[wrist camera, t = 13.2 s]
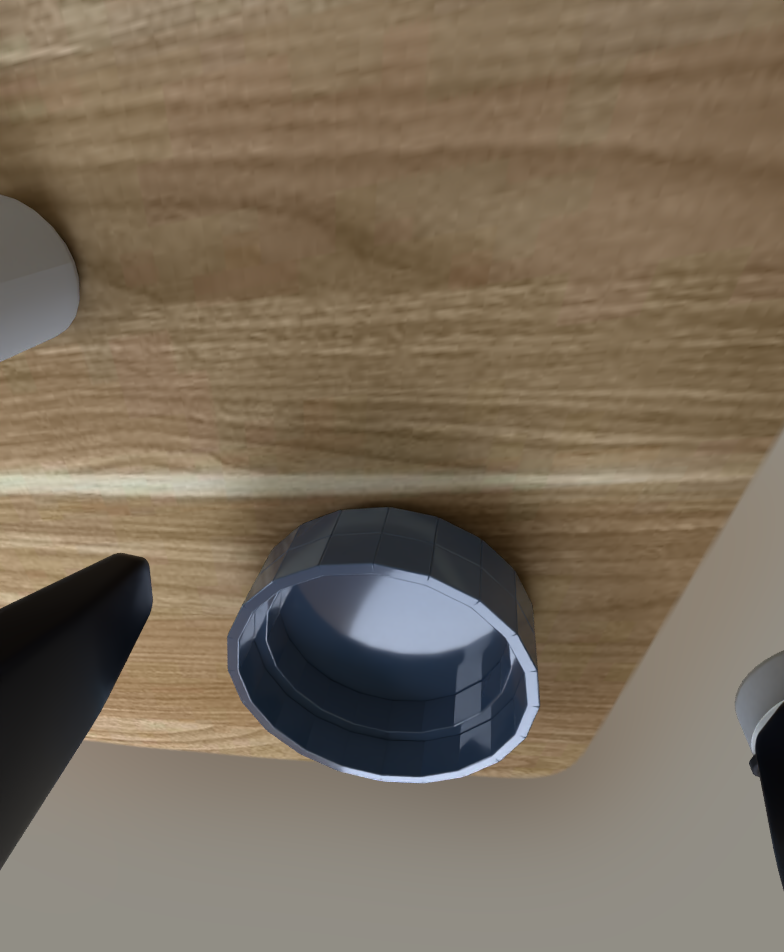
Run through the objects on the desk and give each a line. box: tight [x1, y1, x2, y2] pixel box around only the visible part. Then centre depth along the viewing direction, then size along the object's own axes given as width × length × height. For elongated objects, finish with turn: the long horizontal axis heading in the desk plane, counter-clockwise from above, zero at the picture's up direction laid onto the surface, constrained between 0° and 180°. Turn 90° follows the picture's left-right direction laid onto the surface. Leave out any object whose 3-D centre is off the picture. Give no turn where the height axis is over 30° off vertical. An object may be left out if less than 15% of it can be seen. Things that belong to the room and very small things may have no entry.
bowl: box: [227, 507, 540, 783], centre depth 24 cm, size 12×12×4 cm
